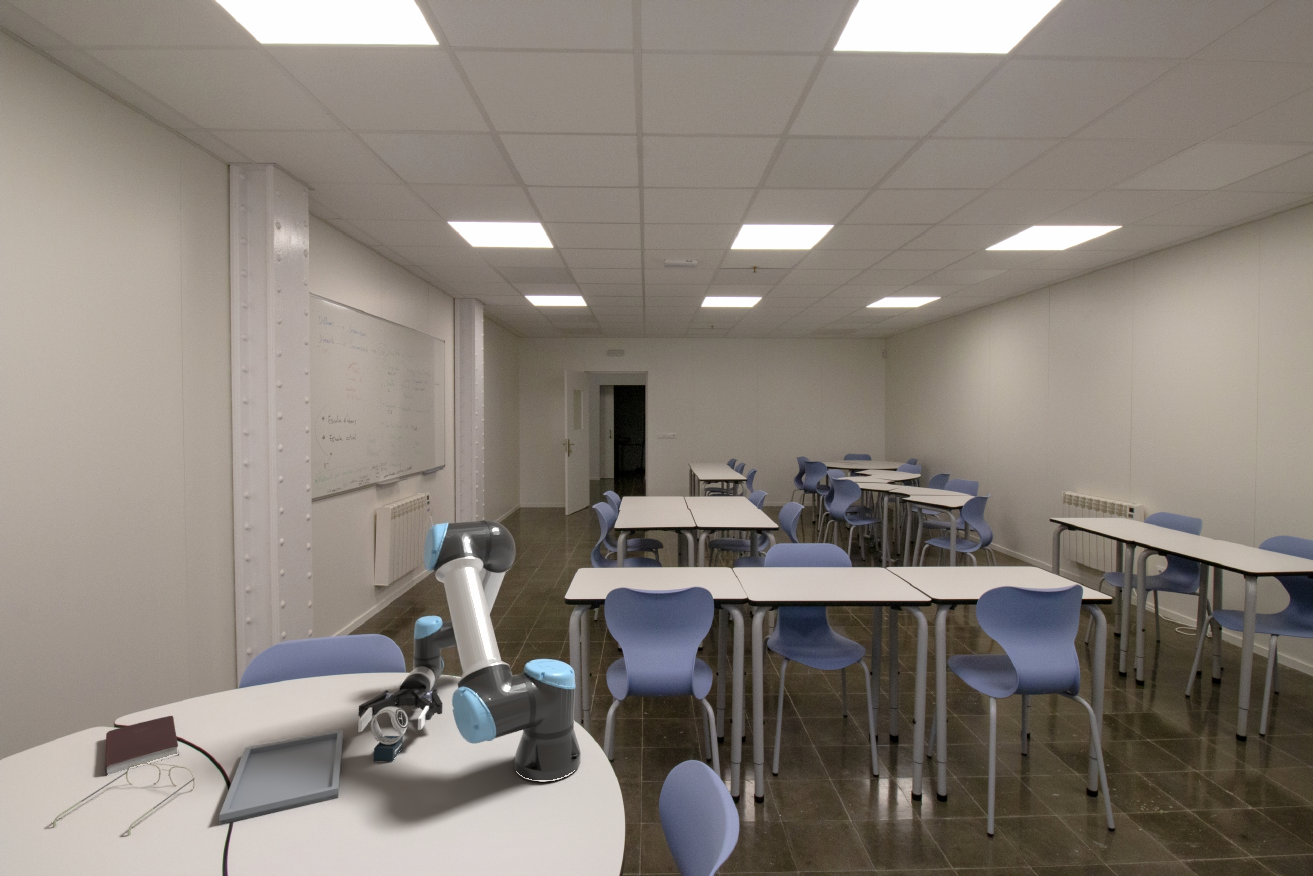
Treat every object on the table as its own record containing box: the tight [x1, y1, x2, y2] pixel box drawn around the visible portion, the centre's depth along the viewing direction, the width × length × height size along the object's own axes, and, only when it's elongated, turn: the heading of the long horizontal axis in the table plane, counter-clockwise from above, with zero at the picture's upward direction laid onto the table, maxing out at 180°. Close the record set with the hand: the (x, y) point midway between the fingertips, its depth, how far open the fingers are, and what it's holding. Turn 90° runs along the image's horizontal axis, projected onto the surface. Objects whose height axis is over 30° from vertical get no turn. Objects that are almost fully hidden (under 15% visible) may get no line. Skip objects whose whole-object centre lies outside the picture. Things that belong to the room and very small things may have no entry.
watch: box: [370, 707, 409, 762], centre depth 135 cm, size 6×8×11 cm
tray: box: [218, 729, 344, 826], centre depth 126 cm, size 26×20×2 cm
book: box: [104, 715, 179, 777], centre depth 135 cm, size 13×19×3 cm, turn 43°
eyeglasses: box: [52, 762, 196, 837], centre depth 114 cm, size 16×15×5 cm
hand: (389, 725), depth 136 cm, fingers open, 13 cm apart
